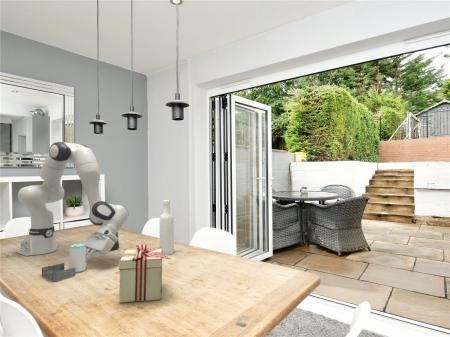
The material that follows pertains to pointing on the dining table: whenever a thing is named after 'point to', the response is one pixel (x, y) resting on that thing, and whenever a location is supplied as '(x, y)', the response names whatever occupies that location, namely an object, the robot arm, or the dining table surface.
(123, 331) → the dining table surface
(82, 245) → the can
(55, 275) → the grey u-shaped bracket
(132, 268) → the gift box
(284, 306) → the dining table surface
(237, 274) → the dining table surface
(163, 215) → the bottle
